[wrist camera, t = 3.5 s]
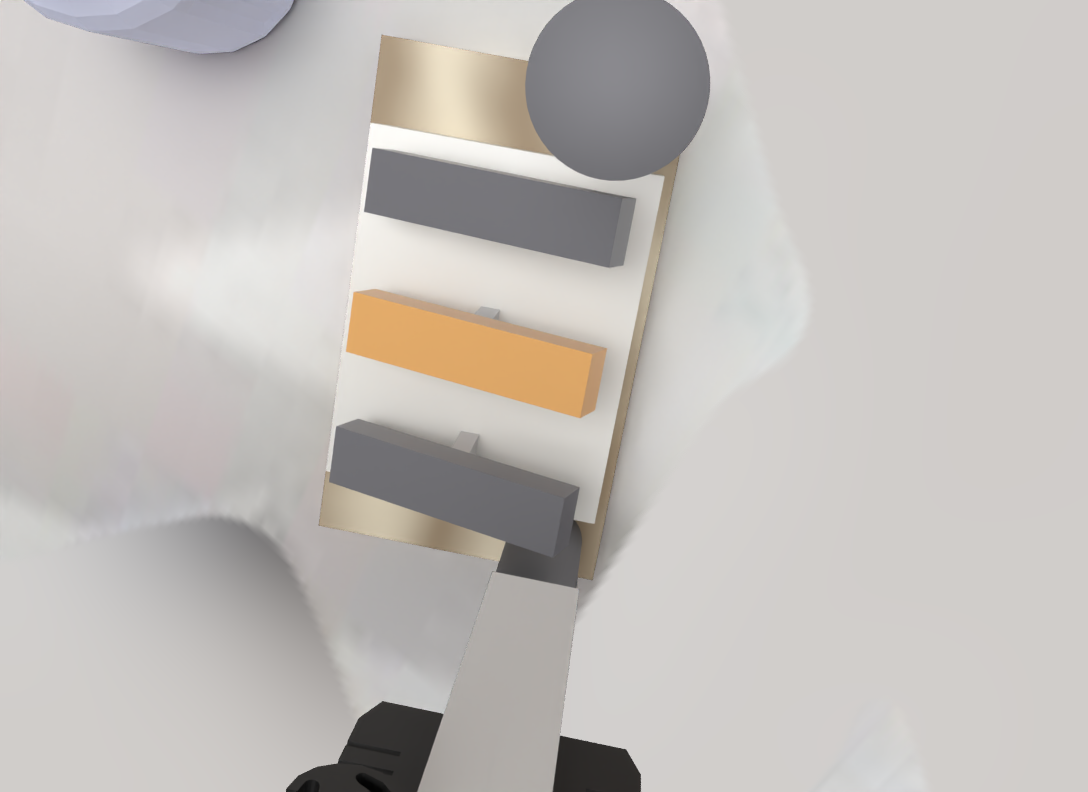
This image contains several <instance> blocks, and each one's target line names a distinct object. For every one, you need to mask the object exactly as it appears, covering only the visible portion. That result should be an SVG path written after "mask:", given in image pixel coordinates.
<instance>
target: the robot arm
mask: <svg viewBox="0 0 1088 792" xmlns="http://www.w3.org/2000/svg"><path fill="white" fill-rule="evenodd" d="M578 595H579V589H577V588H572V587H567V586H562V585H557V584H552V583H547V582H542V581H538V580H533V579H528V578H523V577H518V576H513V575H508V574H503V573H498V572H493V571H492V574H491V577H490V580H489V583H488V586H487V589H486V592H485V595H484V598H483V601H482V603H481V606H480V609H479V612H478V615H477V618H476V621H475V624H474V627H473V630H472V633H471V636H470V639H469V642H468V644H467V647H466V650H465V653H464V656H463V659H462V662H461V665H460V668H459V671H458V674H457V677H456V680H455V683H454V686H453V688H452V691H451V694H450V697H449V700H448V703H447V706H446V709H445V712H444V714H441V713H436V712H431V711H427V710H422V709H417V708H412V707H408V706H403V705H398V704H393V703H388V702H384V701H382V702H381V703H380V704H378V705H377V706H375V707H374V708H372V709H371V710H370V711H368V712H367V713H365V714H364V715H363V716H361V717H360V718H359V719H358V721H357V723H356V725H355V727H354V729H353V731H352V733H351V735H350V737H349V739H348V743H347V745H346V746H345V748H344V750H343V752H342V754H341V756H340V758H339V761H338V764H332V765H326V766H320V767H316V768H313V769H311V770H309V771H307V772H305V773H303V774H301V775H299V776H298V777H297V778H296V779H295V780H294V781H293V782H292V783H291V784H290V785H289V786H288V788H287V789H286V792H641V774H640V773H639V771H638V769H637V768H636V766H635V764H634V762H633V761H632V759H631V757H630V755H629V754H628V752H627V750H626V749H621V748H616V747H611V746H606V745H602V744H597V743H592V742H588V741H582V740H578V739H573V738H568V737H563V736H560V730H561V724H562V716H563V709H564V701H565V693H566V685H567V678H568V670H569V663H570V655H571V648H572V641H573V633H574V625H575V618H576V610H577V603H578Z"/></svg>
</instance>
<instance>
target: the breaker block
mask: <svg viewBox="0 0 1088 792" xmlns="http://www.w3.org/2000/svg"><path fill="white" fill-rule="evenodd" d="M372 148H381V149H391V150H398V151H403V152H408V153H413V154H418V155H423V156H428V157H433V158H437V159H442V160H447V161H452V162H457V163H462V164H467V165H472V166H477V167H482V168H487V169H492V170H497V171H502V172H507V173H512V174H517V175H522V176H527V177H532V178H536V179H541V180H546V181H551V182H556V183H561V184H566V185H571V186H576V187H581V188H586V189H591V190H596V191H601V192H606V193H611V194H616V195H621V196H626V197H631V198H635V199H636V204H635V209H634V214H633V220H632V225H631V230H630V235H629V240H628V245H627V250H626V255H625V260H624V265H623V266H617V267H611V268H607V267H603V266H599V265H594V264H590V263H585V262H581V261H577V260H572V259H568V258H564V257H559V256H555V255H550V254H546V253H542V252H537V251H533V250H529V249H524V248H520V247H515V246H511V245H507V244H502V243H498V242H494V241H489V240H485V239H480V238H476V237H472V236H467V235H463V234H459V233H454V232H450V231H445V230H441V229H437V228H432V227H428V226H424V225H419V224H415V223H410V222H406V221H402V220H397V219H393V218H389V217H384V216H380V215H375V214H371V213H367V212H364V208H365V200H366V192H367V184H368V177H369V169H370V161H371V154H372ZM664 178H665V176H664V175H660V174H654V173H651V174H649V175H646V176H643V177H640V178H636V179H631V180H624V181H608V180H600V179H596V178H592V177H588V176H585V175H583V174H581V173H578V172H576V171H574V170H573V169H571V168H569V167H567V166H566V165H565V164H563V163H562V162H561V161H559V160H558V159H557V158H556V157H555V156H554V155H551V154H545V153H540V152H534V151H529V150H524V149H518V148H513V147H507V146H502V145H496V144H491V143H485V142H480V141H475V140H469V139H464V138H458V137H453V136H447V135H442V134H436V133H431V132H426V131H420V130H415V129H409V128H404V127H398V126H393V125H387V124H382V123H370V130H369V138H368V145H367V153H366V161H365V169H364V177H363V184H362V192H361V200H360V208H359V216H358V223H357V231H356V239H355V247H354V255H353V262H352V270H351V278H350V286H349V294H348V301H347V309H346V317H345V325H344V333H343V340H342V348H341V356H340V364H339V371H338V379H337V387H336V395H335V403H334V410H333V418H332V426H331V434H330V442H329V449H328V457H327V465H326V471H328V472H330V470H331V462H332V455H333V447H334V439H335V431H336V426H338V425H341V424H344V423H347V422H350V421H353V420H356V419H361V420H364V421H367V422H371V423H374V424H377V425H380V426H384V427H387V428H390V429H393V430H396V431H400V432H403V433H406V434H409V435H413V436H416V437H419V438H422V439H426V440H429V441H432V442H435V443H439V444H442V445H445V446H448V447H451V448H455V449H458V450H461V451H464V452H468V453H471V454H474V455H477V456H481V457H484V458H487V459H490V460H493V461H497V462H500V463H503V464H506V465H510V466H513V467H516V468H519V469H523V470H526V471H529V472H532V473H535V474H539V475H542V476H545V477H548V478H552V479H555V480H558V481H561V482H565V483H568V484H571V485H574V486H578V487H580V489H579V494H578V499H577V504H576V509H575V515H574V520H577V521H582V522H587V523H592V524H595V519H596V514H597V509H598V504H599V499H600V494H601V489H602V484H603V479H604V474H605V469H606V464H607V459H608V455H609V450H610V445H611V440H612V435H613V430H614V425H615V420H616V415H617V410H618V405H619V400H620V395H621V390H622V385H623V380H624V376H625V371H626V366H627V361H628V356H629V351H630V346H631V341H632V336H633V331H634V326H635V321H636V316H637V311H638V306H639V301H640V296H641V292H642V287H643V282H644V277H645V272H646V267H647V262H648V257H649V252H650V247H651V242H652V237H653V232H654V227H655V222H656V217H657V213H658V208H659V203H660V198H661V193H662V188H663V183H664ZM371 289H378V290H382V291H386V292H390V293H394V294H398V295H402V296H406V297H410V298H413V299H417V300H421V301H425V302H429V303H433V304H437V305H441V306H445V307H448V308H452V309H456V310H460V311H464V312H468V313H472V314H476V315H480V316H483V317H487V318H491V319H495V320H499V321H503V322H507V323H511V324H515V325H518V326H522V327H526V328H530V329H534V330H538V331H542V332H546V333H550V334H553V335H557V336H561V337H565V338H569V339H573V340H577V341H581V342H585V343H588V344H592V345H596V346H600V347H604V348H607V352H606V357H605V362H604V367H603V372H602V377H601V382H600V387H599V392H598V398H597V403H596V408H595V410H594V411H593V412H591V413H589V414H587V415H585V416H583V417H582V418H577V417H574V416H570V415H567V414H563V413H560V412H556V411H552V410H549V409H545V408H542V407H538V406H535V405H531V404H528V403H524V402H521V401H517V400H514V399H510V398H507V397H503V396H500V395H496V394H493V393H489V392H486V391H482V390H479V389H475V388H472V387H468V386H465V385H461V384H458V383H454V382H451V381H447V380H444V379H440V378H437V377H433V376H430V375H426V374H423V373H419V372H416V371H412V370H408V369H405V368H401V367H398V366H394V365H391V364H387V363H384V362H380V361H377V360H373V359H370V358H366V357H363V356H359V355H356V354H352V353H349V352H346V347H347V339H348V331H349V323H350V316H351V308H352V300H353V293H354V292H356V291H363V290H371Z"/></svg>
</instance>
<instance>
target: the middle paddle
mask: <svg viewBox="0 0 1088 792" xmlns="http://www.w3.org/2000/svg"><path fill="white" fill-rule="evenodd" d="M346 352H349V353H352V354H356V355H359V356H363V357H366V358H370V359H373V360H377V361H380V362H384V363H387V364H391V365H394V366H398V367H401V368H405V369H408V370H412V371H416V372H419V373H423V374H426V375H430V376H433V377H437V378H440V379H444V380H447V381H451V382H454V383H458V384H461V385H465V386H468V387H472V388H475V389H479V390H482V391H486V392H489V393H493V394H496V395H500V396H503V397H507V398H510V399H514V400H517V401H521V402H524V403H528V404H531V405H535V406H538V407H542V408H545V409H549V410H552V411H556V412H560V413H563V414H567V415H570V416H574V417H577V418H582V417H583V416H585V415H587V414H589V413H591V412H593V411H594V410H595V408H596V403H597V398H598V392H599V387H600V382H601V377H602V372H603V367H604V362H605V357H606V352H607V348H604V347H600V346H596V345H592V344H588V343H585V342H581V341H577V340H573V339H569V338H565V337H561V336H557V335H553V334H550V333H546V332H542V331H538V330H534V329H530V328H526V327H522V326H518V325H515V324H511V323H507V322H503V321H499V320H495V319H491V318H487V317H483V316H480V315H476V314H472V313H468V312H464V311H460V310H456V309H452V308H448V307H445V306H441V305H437V304H433V303H429V302H425V301H421V300H417V299H413V298H410V297H406V296H402V295H398V294H394V293H390V292H386V291H382V290H378V289H371V290H363V291H356V292H354V293H353V300H352V308H351V316H350V323H349V331H348V339H347V347H346Z"/></svg>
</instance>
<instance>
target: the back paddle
mask: <svg viewBox="0 0 1088 792" xmlns="http://www.w3.org/2000/svg"><path fill="white" fill-rule="evenodd" d="M329 482H330V483H333V484H336V485H339V486H342V487H345V488H348V489H351V490H354V491H357V492H360V493H363V494H366V495H369V496H372V497H375V498H378V499H381V500H384V501H386V502H389V503H392V504H395V505H398V506H401V507H404V508H407V509H410V510H413V511H416V512H419V513H422V514H425V515H428V516H431V517H434V518H437V519H440V520H443V521H446V522H449V523H452V524H455V525H458V526H460V527H463V528H466V529H469V530H472V531H475V532H478V533H481V534H484V535H487V536H490V537H493V538H496V539H499V540H502V541H505V542H508V543H511V544H514V545H517V546H520V547H523V548H526V549H529V550H532V551H534V552H537V553H540V554H543V555H546V556H549V557H552V558H553V557H555V556H556V555H557V554H558V553H559V552H561V551H562V550H563V549H564V548H565V547H567V546H568V545H569V540H570V535H571V530H572V525H573V520H574V515H575V509H576V504H577V499H578V494H579V489H580V487H578V486H574V485H571V484H568V483H565V482H561V481H558V480H555V479H552V478H548V477H545V476H542V475H539V474H535V473H532V472H529V471H526V470H523V469H519V468H516V467H513V466H510V465H506V464H503V463H500V462H497V461H493V460H490V459H487V458H484V457H481V456H477V455H474V454H471V453H468V452H464V451H461V450H458V449H455V448H451V447H448V446H445V445H442V444H439V443H435V442H432V441H429V440H426V439H422V438H419V437H416V436H413V435H409V434H406V433H403V432H400V431H396V430H393V429H390V428H387V427H384V426H380V425H377V424H374V423H371V422H367V421H364V420H361V419H356V420H353V421H350V422H347V423H344V424H341V425H338V426H336V431H335V439H334V447H333V455H332V462H331V470H330V478H329Z"/></svg>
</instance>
